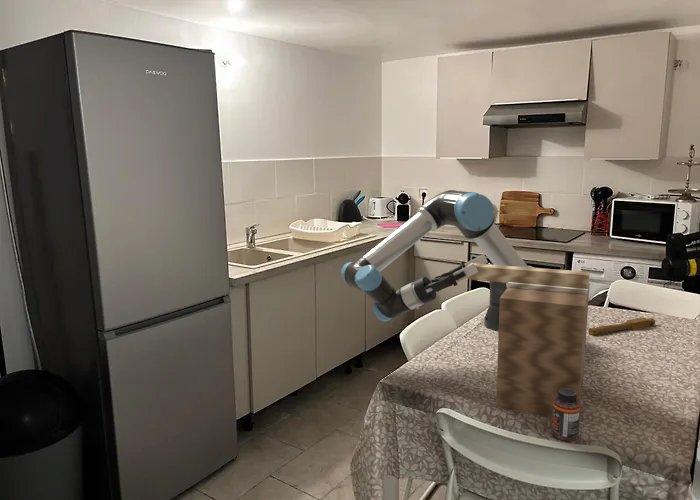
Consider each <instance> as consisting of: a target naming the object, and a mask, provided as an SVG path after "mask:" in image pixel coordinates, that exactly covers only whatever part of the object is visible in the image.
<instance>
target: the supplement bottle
mask: <svg viewBox="0 0 700 500" xmlns="http://www.w3.org/2000/svg"><path fill="white" fill-rule="evenodd" d="M576 398H577V393H576V391H574V390H572V389H569V388H561V389H559V392H558V396H557V397H556V398H555V399H554V403H553V418H552V422H551V433H552V436H554V437H555V438H556V439H559V440H561V441H565V442H567V441H568V442H569V441H570V442H572V441H575V440H577V439H578V437H579V433H580V432H579V431H580V418H581V417H580V416H581V401H580V402H579V401H578V400H577V399H576Z"/></svg>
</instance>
